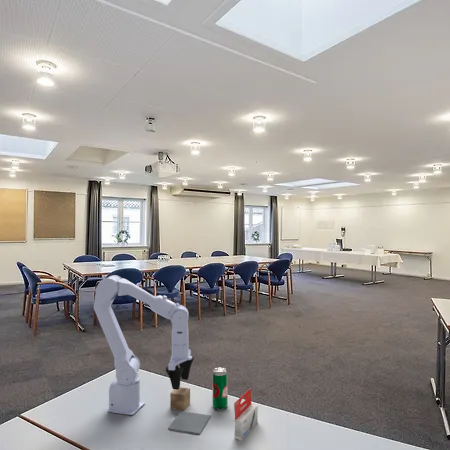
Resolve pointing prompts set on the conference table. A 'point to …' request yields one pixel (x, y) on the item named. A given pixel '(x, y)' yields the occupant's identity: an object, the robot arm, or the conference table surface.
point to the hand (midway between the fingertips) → (180, 383)
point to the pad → (189, 422)
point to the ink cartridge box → (244, 416)
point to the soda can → (219, 388)
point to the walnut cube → (180, 398)
